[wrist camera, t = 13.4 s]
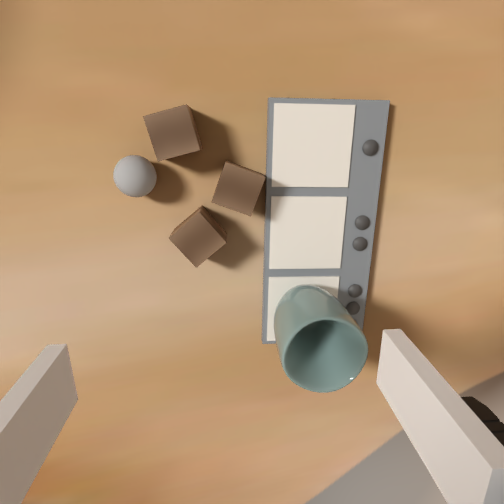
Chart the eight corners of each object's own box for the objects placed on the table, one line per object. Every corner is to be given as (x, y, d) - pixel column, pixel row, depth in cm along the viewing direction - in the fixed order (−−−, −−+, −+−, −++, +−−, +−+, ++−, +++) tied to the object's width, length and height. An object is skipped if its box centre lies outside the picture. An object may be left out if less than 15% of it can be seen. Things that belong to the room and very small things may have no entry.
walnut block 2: (174, 228, 39) (168, 238, 35) (202, 205, 38) (199, 212, 34) (199, 255, 40) (196, 267, 36) (226, 233, 39) (226, 242, 35)
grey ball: (118, 154, 36) (105, 155, 32) (158, 154, 36) (150, 156, 32) (122, 194, 37) (110, 200, 33) (161, 194, 37) (153, 200, 34)
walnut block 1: (152, 119, 35) (143, 116, 32) (191, 108, 35) (186, 104, 31) (165, 159, 37) (157, 161, 33) (202, 149, 36) (199, 150, 33)
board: (267, 98, 35) (269, 97, 34) (385, 101, 36) (390, 100, 35) (261, 339, 43) (262, 344, 42) (358, 337, 44) (361, 342, 43)
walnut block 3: (225, 160, 37) (225, 162, 33) (261, 173, 38) (265, 177, 34) (213, 196, 38) (211, 202, 34) (248, 209, 39) (250, 216, 35)
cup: (348, 292, 41) (385, 338, 31) (314, 346, 43) (339, 405, 33) (290, 263, 39) (310, 302, 30) (257, 320, 41) (266, 374, 32)
